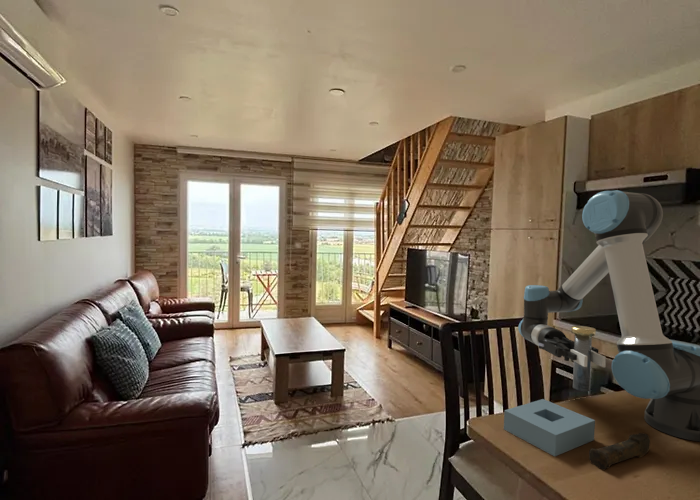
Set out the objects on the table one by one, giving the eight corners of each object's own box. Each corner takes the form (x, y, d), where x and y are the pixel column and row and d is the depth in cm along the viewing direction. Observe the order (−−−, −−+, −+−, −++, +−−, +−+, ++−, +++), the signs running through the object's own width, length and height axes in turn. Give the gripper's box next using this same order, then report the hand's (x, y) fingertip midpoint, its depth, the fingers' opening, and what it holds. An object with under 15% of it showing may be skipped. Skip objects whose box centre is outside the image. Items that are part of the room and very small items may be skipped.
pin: (597, 390, 105) (600, 329, 104) (585, 394, 102) (588, 331, 102) (576, 383, 110) (579, 325, 109) (565, 386, 107) (567, 326, 107)
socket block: (594, 440, 97) (595, 420, 97) (554, 456, 89) (555, 435, 89) (542, 416, 109) (543, 398, 109) (503, 429, 101) (504, 410, 101)
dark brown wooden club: (604, 473, 84) (606, 452, 84) (587, 463, 88) (588, 442, 87) (661, 457, 91) (662, 438, 90) (643, 448, 94) (644, 429, 94)
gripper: (575, 351, 124) (627, 377, 100) (521, 349, 124) (561, 375, 100) (576, 327, 123) (628, 348, 100) (522, 326, 124) (562, 346, 100)
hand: (594, 361), depth 100 cm, fingers closed on pin, 4 cm apart
